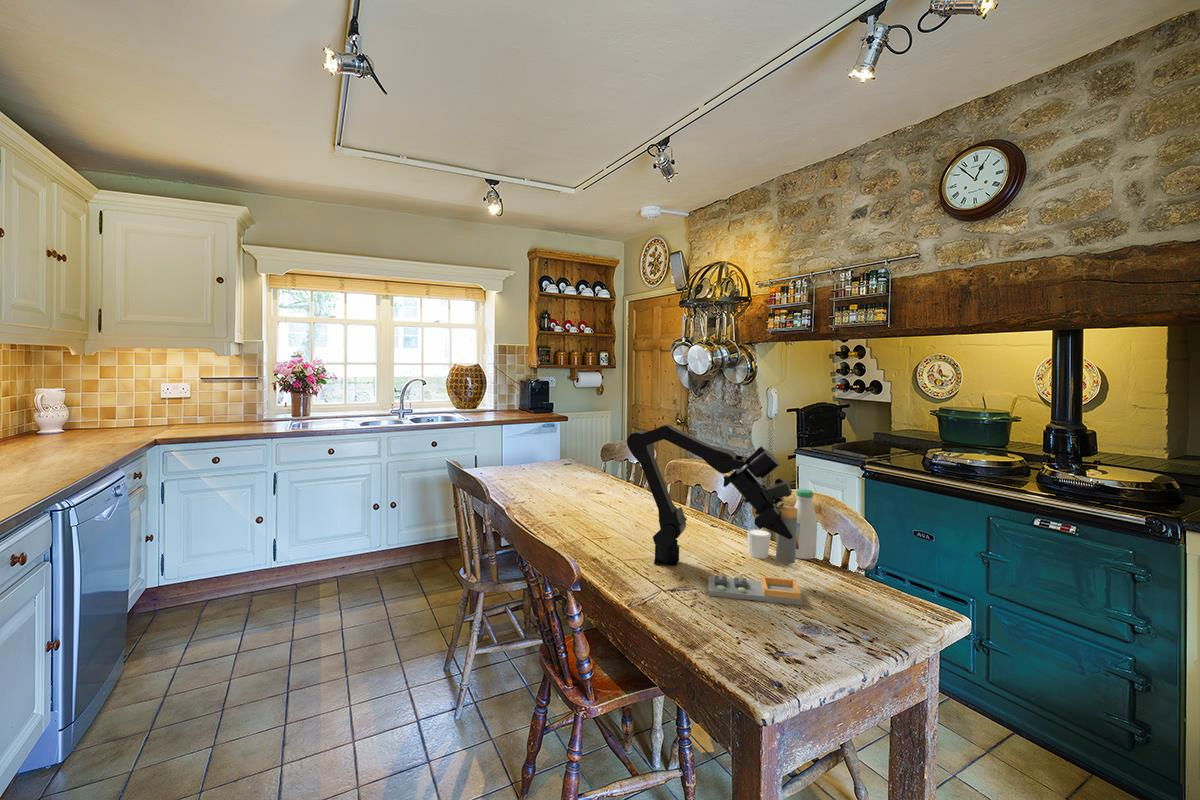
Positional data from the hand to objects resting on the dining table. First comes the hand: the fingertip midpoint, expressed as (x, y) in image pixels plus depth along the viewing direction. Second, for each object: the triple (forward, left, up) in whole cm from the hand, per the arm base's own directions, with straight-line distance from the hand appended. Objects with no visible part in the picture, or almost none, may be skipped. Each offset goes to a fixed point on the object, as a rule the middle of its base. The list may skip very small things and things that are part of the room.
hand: (792, 535), depth 134 cm
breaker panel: (-10, -8, -13) cm, 18 cm away
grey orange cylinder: (-1, 0, -7) cm, 7 cm away
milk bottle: (+7, +22, -13) cm, 27 cm away
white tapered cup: (-6, +19, -13) cm, 24 cm away
